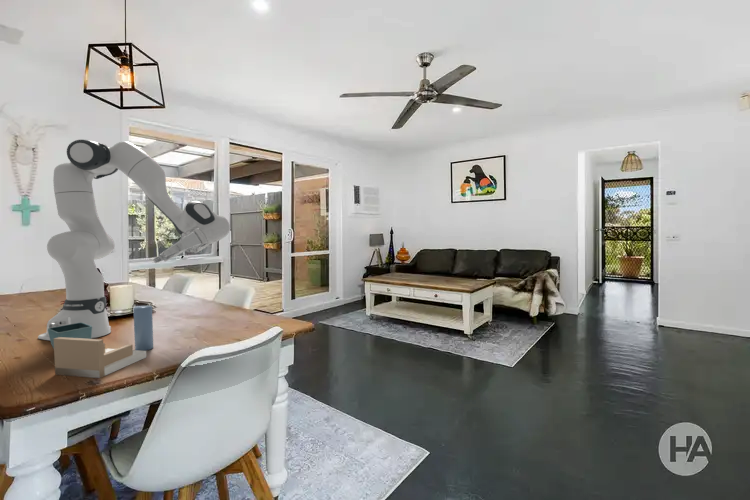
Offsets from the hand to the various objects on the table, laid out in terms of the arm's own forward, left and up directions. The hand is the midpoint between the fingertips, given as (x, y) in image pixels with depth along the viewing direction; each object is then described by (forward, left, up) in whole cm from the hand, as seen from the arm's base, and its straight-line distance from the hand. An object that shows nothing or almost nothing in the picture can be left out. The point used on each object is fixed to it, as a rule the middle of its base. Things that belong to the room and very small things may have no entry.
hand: (159, 258), depth 128 cm
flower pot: (-17, -18, -30) cm, 39 cm away
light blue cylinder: (+1, -9, -30) cm, 31 cm away
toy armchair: (+1, -24, -30) cm, 38 cm away
